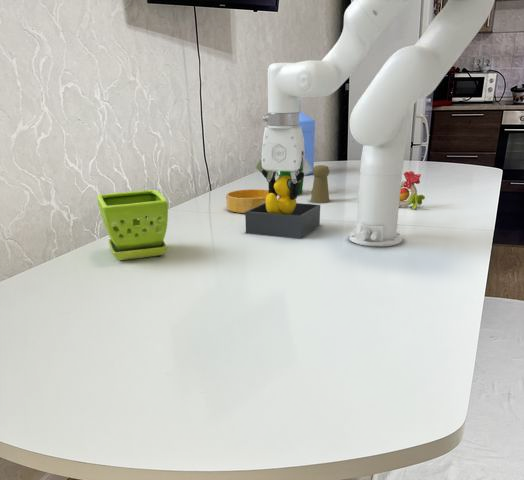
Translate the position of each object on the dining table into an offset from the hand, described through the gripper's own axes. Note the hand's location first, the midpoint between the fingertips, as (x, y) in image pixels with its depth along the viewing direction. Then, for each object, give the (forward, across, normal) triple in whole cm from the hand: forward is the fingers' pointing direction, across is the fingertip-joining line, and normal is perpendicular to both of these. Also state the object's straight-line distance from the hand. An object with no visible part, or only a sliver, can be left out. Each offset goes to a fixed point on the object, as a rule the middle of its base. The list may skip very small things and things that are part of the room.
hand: (283, 197), depth 134 cm
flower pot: (+9, -23, -32) cm, 40 cm away
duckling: (+5, 0, 0) cm, 5 cm away
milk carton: (+9, -17, +47) cm, 51 cm away
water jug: (+9, -32, +90) cm, 96 cm away
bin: (+8, 0, 0) cm, 8 cm away
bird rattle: (+8, +25, +37) cm, 45 cm away
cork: (+8, -3, +38) cm, 39 cm away
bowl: (+8, -19, +20) cm, 29 cm away
